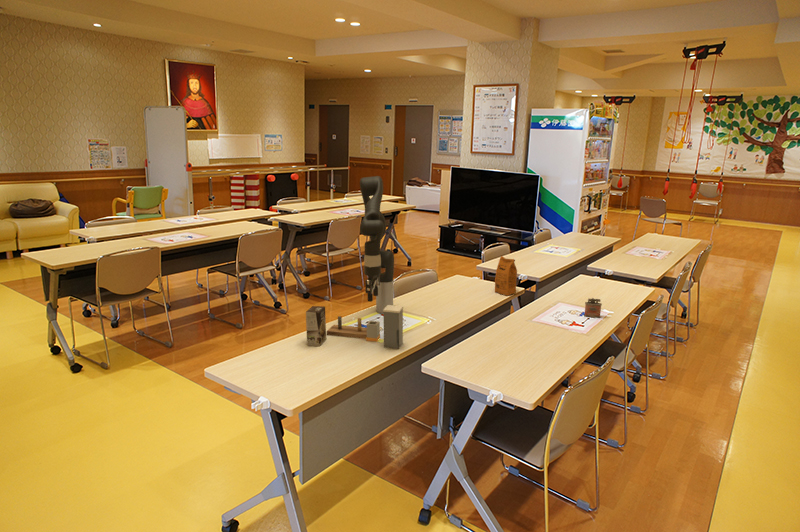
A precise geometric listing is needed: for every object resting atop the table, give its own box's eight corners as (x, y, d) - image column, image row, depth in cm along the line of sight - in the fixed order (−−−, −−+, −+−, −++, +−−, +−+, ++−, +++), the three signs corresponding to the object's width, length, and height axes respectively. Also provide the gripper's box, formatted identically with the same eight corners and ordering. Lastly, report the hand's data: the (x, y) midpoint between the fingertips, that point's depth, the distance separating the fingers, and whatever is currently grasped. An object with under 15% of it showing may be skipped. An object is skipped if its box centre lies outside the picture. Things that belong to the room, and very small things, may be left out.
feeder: (387, 341, 239) (387, 304, 235) (402, 343, 237) (403, 306, 233) (383, 347, 232) (383, 309, 228) (399, 349, 231) (399, 311, 226)
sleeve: (369, 336, 245) (369, 320, 243) (380, 337, 244) (380, 321, 242) (366, 340, 240) (366, 324, 238) (377, 341, 239) (376, 325, 237)
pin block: (333, 328, 256) (333, 313, 254) (372, 332, 251) (372, 316, 249) (326, 335, 247) (326, 319, 245) (366, 338, 242) (366, 322, 240)
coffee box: (320, 346, 234) (318, 312, 230) (306, 345, 235) (305, 311, 231) (326, 339, 242) (325, 306, 238) (313, 338, 243) (312, 305, 240)
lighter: (584, 317, 272) (585, 298, 270) (583, 315, 275) (585, 296, 273) (600, 318, 270) (602, 300, 267) (600, 316, 273) (601, 298, 271)
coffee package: (503, 289, 322) (505, 254, 317) (518, 294, 312) (520, 258, 307) (491, 291, 317) (493, 256, 312) (505, 296, 307) (507, 260, 301)
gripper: (369, 260, 241) (369, 293, 245) (359, 267, 228) (360, 302, 232) (384, 261, 239) (385, 294, 243) (375, 268, 226) (376, 303, 230)
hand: (372, 298), depth 237 cm, fingers open, 8 cm apart
